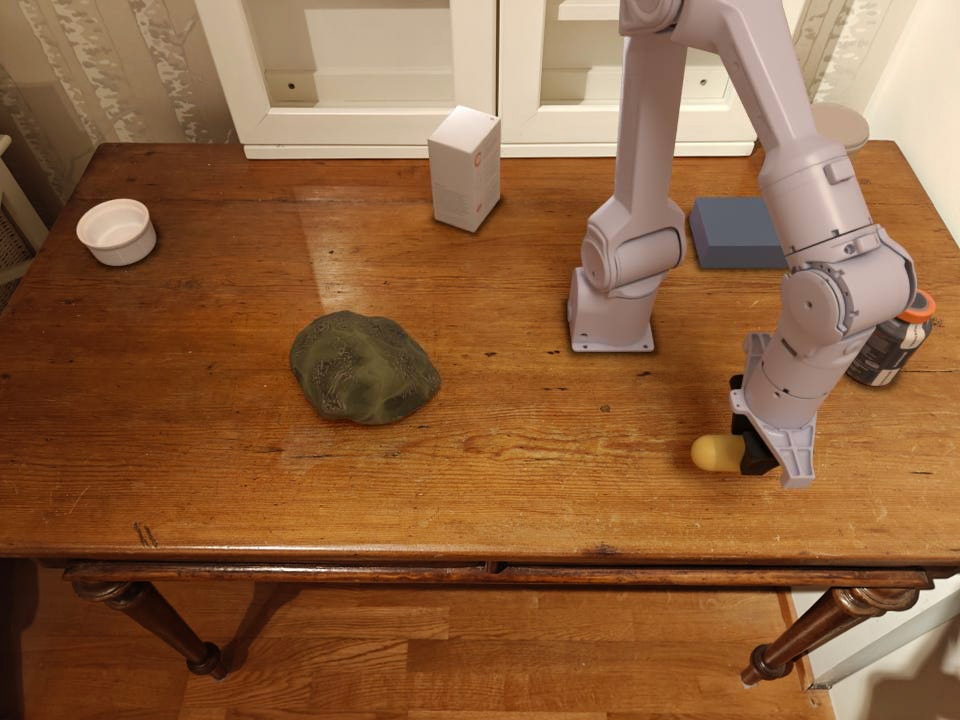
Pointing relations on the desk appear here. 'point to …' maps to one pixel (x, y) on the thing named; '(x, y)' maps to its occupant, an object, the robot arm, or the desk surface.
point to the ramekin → (117, 232)
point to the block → (735, 233)
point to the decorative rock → (362, 368)
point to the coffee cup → (842, 126)
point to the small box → (465, 167)
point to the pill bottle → (894, 343)
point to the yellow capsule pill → (720, 452)
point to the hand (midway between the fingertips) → (746, 452)
